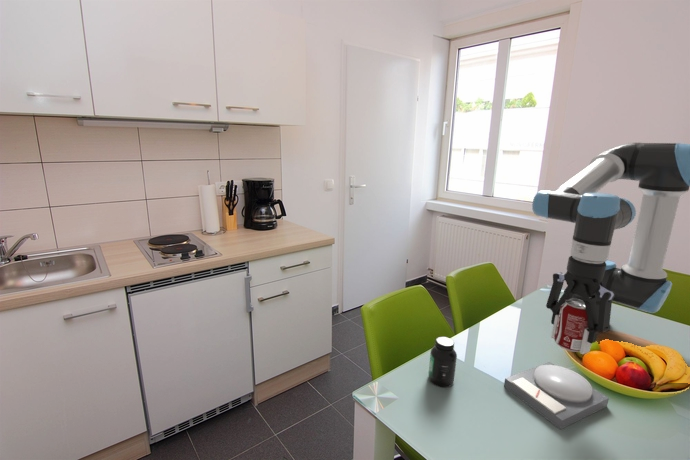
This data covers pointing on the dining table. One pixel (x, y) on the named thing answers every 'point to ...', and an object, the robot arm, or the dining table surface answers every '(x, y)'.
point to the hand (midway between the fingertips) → (569, 344)
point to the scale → (556, 393)
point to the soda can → (571, 325)
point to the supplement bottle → (442, 362)
